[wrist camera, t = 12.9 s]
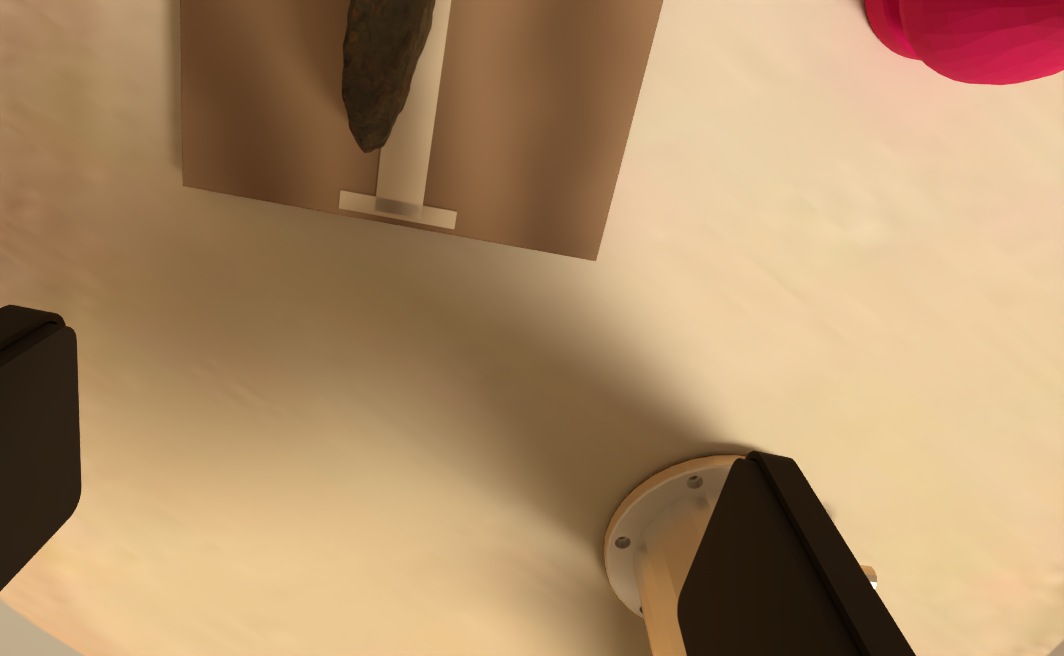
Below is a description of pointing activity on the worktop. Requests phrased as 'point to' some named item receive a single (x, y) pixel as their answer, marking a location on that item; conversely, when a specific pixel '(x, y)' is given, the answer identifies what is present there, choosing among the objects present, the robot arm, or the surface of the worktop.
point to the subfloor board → (423, 115)
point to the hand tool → (381, 63)
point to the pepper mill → (975, 36)
